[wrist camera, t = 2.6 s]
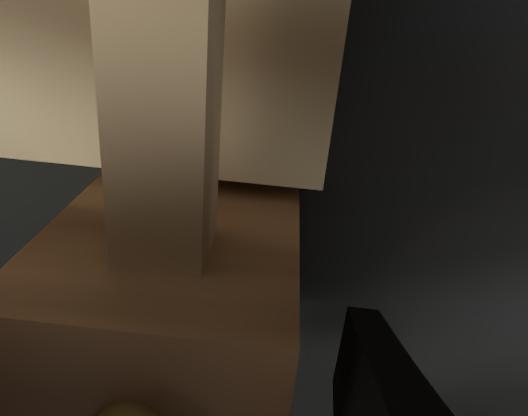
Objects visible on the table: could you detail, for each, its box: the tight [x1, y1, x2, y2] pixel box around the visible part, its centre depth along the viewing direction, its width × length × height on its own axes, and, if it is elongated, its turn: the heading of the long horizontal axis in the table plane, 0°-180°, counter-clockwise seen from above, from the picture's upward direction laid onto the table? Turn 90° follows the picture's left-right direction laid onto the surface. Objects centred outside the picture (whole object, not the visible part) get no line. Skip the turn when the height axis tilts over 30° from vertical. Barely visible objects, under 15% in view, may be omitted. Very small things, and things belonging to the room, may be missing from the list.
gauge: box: [0, 0, 300, 416], centre depth 9 cm, size 12×5×7 cm, turn 175°
